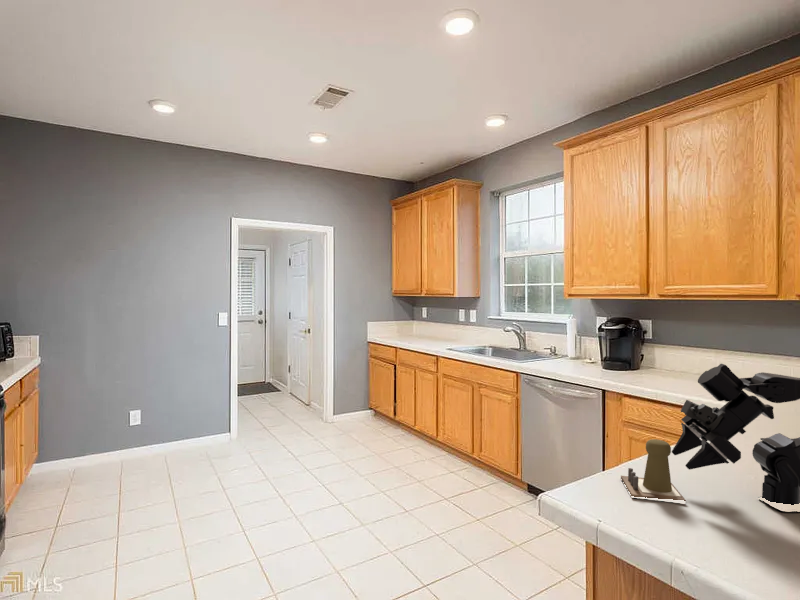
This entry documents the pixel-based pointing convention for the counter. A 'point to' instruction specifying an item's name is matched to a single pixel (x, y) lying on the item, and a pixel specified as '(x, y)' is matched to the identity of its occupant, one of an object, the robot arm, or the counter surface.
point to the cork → (657, 466)
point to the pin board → (638, 490)
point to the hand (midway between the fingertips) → (679, 460)
